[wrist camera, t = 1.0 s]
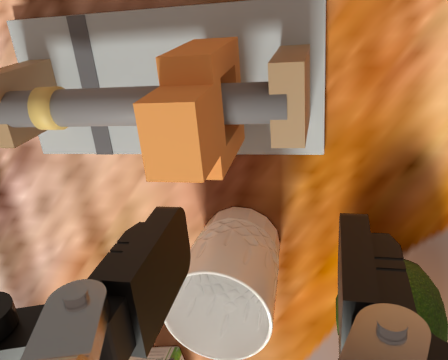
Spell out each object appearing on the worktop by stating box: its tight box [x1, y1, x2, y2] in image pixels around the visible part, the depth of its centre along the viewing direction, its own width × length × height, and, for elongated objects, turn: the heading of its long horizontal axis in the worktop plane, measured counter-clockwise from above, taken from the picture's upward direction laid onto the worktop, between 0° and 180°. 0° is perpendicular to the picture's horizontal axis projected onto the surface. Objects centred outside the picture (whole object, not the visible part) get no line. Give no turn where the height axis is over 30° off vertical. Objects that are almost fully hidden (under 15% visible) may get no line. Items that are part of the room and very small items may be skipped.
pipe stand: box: [0, 0, 326, 155], centre depth 30 cm, size 24×11×8 cm, turn 95°
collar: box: [133, 37, 245, 183], centre depth 25 cm, size 3×7×10 cm, turn 5°
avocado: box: [336, 259, 448, 342], centre depth 31 cm, size 8×8×12 cm
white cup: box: [164, 207, 280, 360], centre depth 34 cm, size 8×8×10 cm
